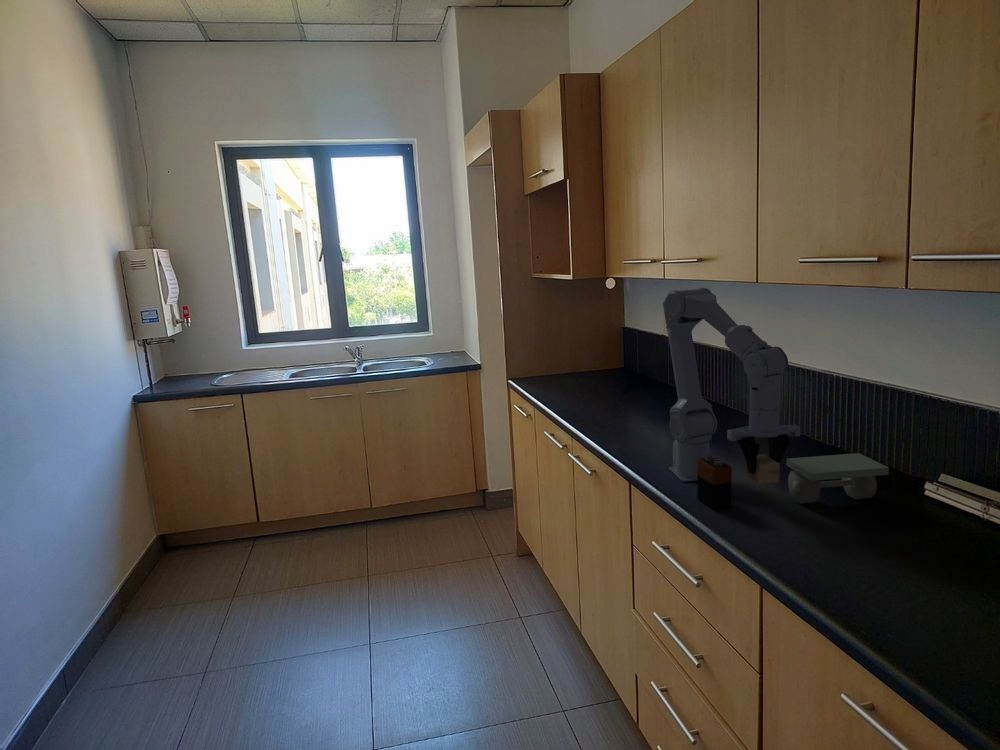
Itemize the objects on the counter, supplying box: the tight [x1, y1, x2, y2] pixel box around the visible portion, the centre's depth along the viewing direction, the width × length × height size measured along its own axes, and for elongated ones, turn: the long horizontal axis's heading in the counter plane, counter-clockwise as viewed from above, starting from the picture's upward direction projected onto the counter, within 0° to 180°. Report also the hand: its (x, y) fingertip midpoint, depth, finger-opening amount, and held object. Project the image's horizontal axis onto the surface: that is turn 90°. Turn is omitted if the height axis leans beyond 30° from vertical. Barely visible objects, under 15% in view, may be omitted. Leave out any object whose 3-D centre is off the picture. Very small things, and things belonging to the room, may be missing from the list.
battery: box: [696, 454, 733, 510], centre depth 135 cm, size 4×7×10 cm, turn 12°
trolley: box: [785, 452, 890, 505], centre depth 132 cm, size 10×16×8 cm, turn 95°
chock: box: [745, 454, 781, 485], centre depth 132 cm, size 6×4×4 cm, turn 5°
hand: (762, 471), depth 132 cm, fingers closed on chock, 4 cm apart
